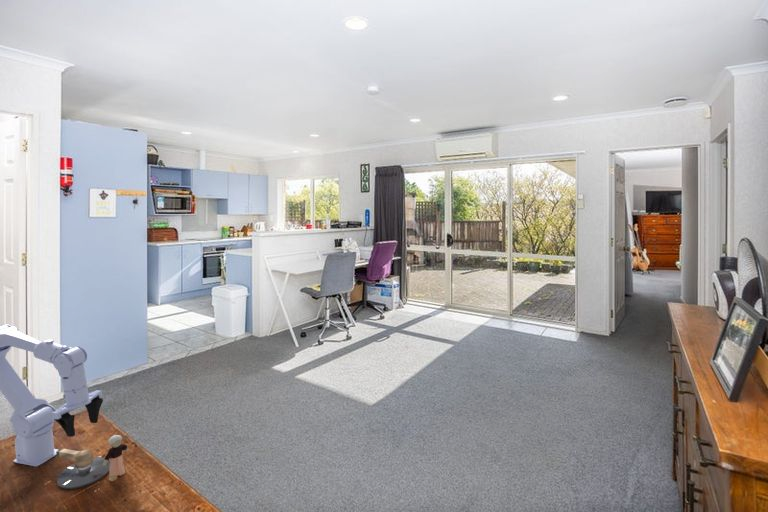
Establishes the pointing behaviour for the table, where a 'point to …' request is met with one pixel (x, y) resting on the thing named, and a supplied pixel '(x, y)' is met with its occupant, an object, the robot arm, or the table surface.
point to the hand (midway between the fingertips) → (83, 429)
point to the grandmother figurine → (115, 457)
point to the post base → (83, 474)
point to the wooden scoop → (76, 456)
